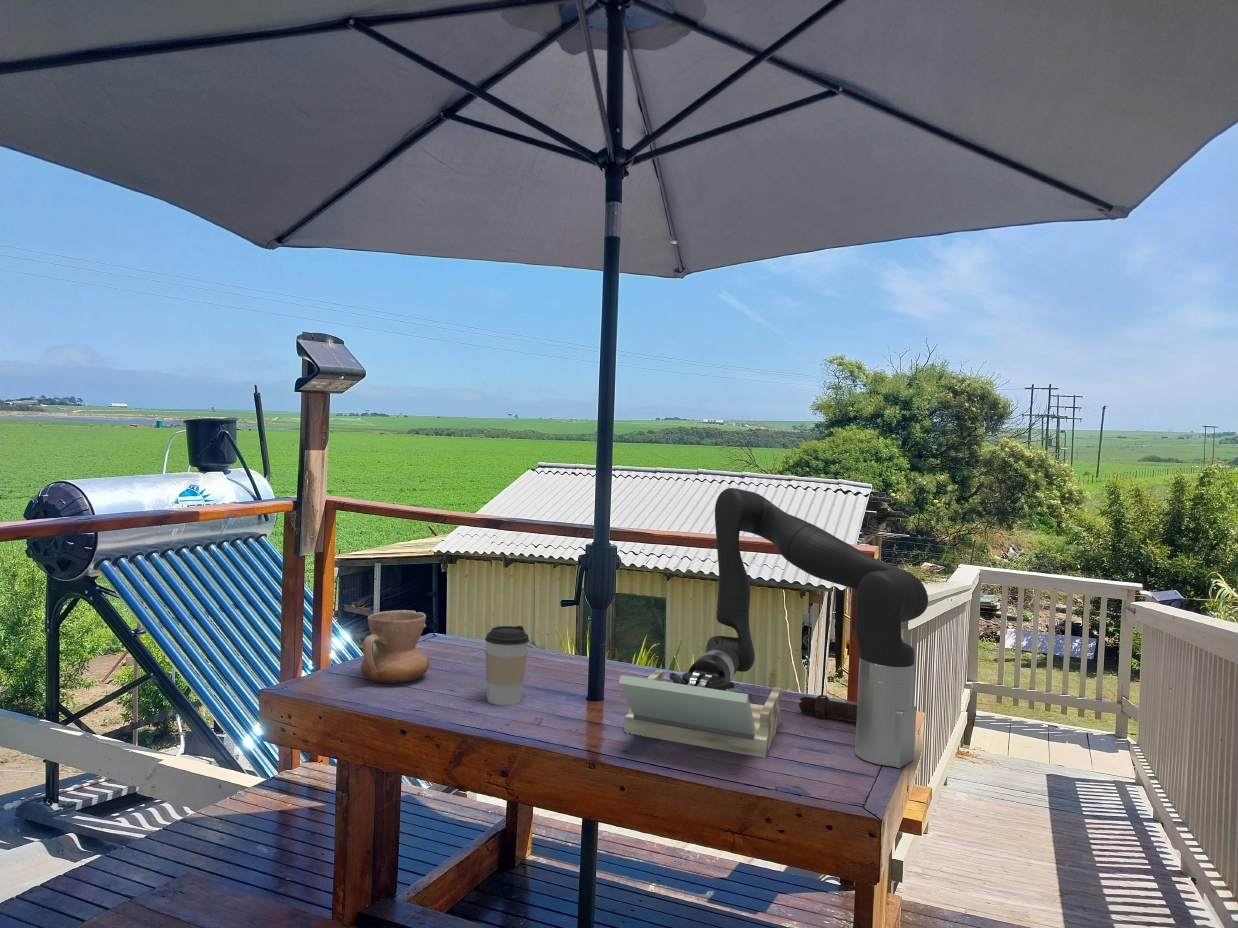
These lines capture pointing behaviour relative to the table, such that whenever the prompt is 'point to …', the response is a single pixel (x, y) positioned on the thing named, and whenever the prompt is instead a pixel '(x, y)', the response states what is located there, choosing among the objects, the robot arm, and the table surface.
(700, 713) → the panel
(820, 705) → the bolt
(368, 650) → the ceramic jug
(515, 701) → the coffee cup
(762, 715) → the cart bed
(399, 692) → the table surface
